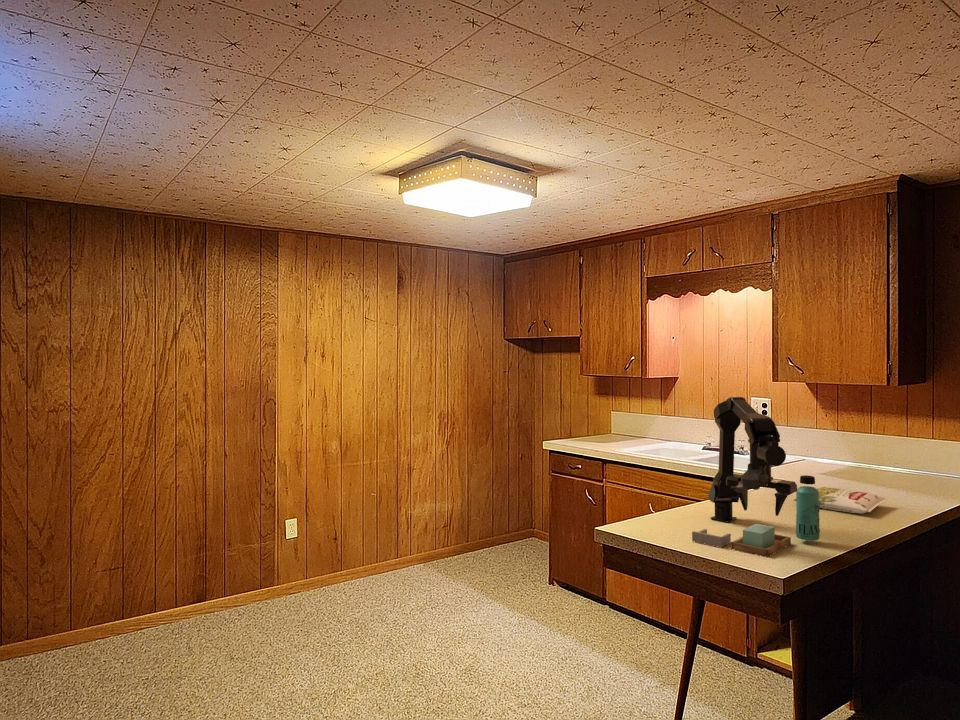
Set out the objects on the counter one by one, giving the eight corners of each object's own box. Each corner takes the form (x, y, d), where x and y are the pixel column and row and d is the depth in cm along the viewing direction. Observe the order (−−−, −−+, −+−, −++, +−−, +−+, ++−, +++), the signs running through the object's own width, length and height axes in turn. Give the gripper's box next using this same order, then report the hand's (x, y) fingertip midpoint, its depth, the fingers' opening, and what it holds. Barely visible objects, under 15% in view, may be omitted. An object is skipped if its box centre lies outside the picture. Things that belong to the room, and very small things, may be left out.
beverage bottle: (794, 543, 194) (793, 477, 194) (797, 538, 200) (796, 473, 199) (819, 547, 191) (818, 479, 190) (821, 541, 196) (820, 474, 196)
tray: (755, 536, 202) (755, 530, 202) (790, 543, 194) (790, 537, 194) (730, 549, 190) (730, 542, 190) (767, 557, 183) (767, 550, 183)
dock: (703, 536, 203) (703, 527, 203) (732, 542, 196) (731, 532, 196) (692, 541, 198) (692, 531, 198) (721, 547, 192) (721, 537, 192)
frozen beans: (813, 481, 252) (887, 490, 234) (813, 496, 252) (887, 506, 234) (792, 492, 237) (869, 503, 219) (792, 508, 237) (870, 520, 219)
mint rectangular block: (757, 539, 197) (757, 522, 197) (776, 542, 193) (776, 526, 193) (743, 547, 190) (742, 529, 190) (761, 551, 186) (761, 533, 186)
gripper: (717, 460, 193) (717, 512, 193) (782, 467, 179) (782, 524, 179) (734, 455, 200) (734, 505, 201) (797, 462, 187) (798, 516, 187)
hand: (761, 512), depth 192 cm, fingers open, 9 cm apart
